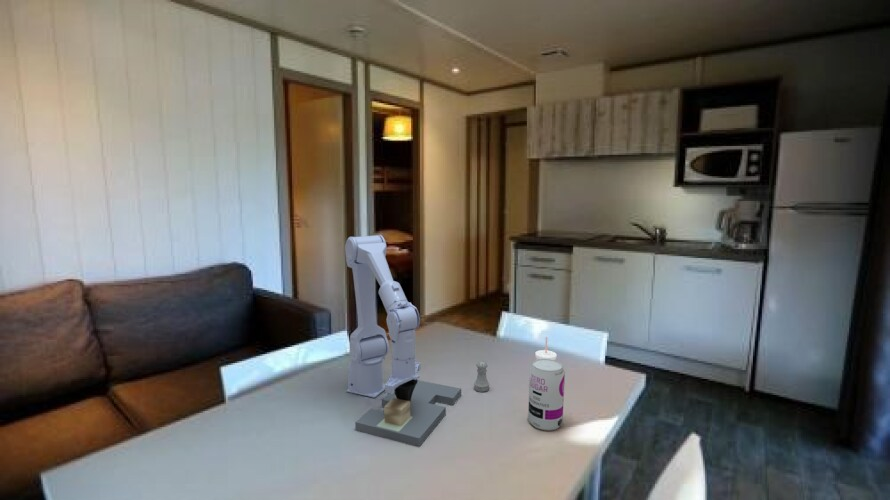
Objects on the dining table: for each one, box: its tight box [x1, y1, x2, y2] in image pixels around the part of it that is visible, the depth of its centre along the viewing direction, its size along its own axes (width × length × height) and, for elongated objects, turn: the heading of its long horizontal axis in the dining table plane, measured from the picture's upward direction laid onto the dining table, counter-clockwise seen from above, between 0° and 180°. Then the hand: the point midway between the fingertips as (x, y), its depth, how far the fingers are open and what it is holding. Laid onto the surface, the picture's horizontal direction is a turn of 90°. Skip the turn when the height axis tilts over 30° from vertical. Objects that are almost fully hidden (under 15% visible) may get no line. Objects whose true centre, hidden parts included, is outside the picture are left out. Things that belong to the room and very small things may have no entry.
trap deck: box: [354, 379, 462, 447], centre depth 111 cm, size 17×26×2 cm, turn 157°
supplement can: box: [527, 359, 566, 432], centre depth 105 cm, size 8×8×15 cm
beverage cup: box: [534, 336, 557, 361], centre depth 126 cm, size 6×6×14 cm
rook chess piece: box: [473, 360, 490, 393], centre depth 123 cm, size 4×4×8 cm
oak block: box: [383, 398, 410, 426], centre depth 103 cm, size 4×4×4 cm
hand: (404, 408), depth 107 cm, fingers closed
